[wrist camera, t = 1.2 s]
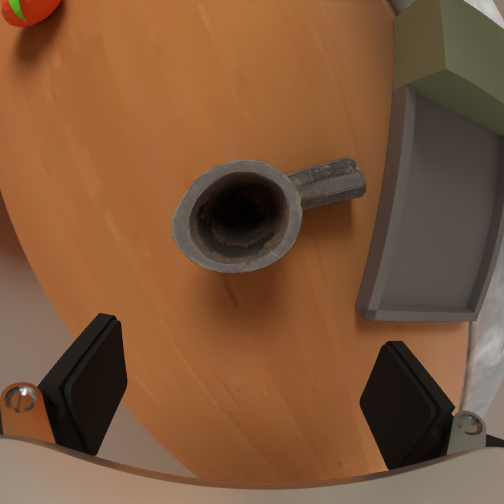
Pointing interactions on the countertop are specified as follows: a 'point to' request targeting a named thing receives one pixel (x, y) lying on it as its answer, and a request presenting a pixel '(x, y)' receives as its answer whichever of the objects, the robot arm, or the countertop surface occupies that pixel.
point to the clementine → (27, 11)
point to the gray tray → (440, 169)
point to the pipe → (255, 210)
